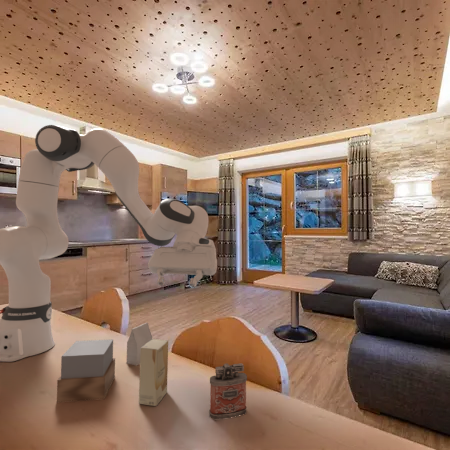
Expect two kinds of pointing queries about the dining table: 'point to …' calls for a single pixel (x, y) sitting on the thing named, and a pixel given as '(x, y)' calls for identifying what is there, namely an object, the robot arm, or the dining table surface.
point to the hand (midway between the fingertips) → (176, 284)
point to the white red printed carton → (137, 343)
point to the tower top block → (87, 359)
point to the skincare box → (153, 372)
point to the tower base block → (85, 386)
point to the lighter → (228, 392)
